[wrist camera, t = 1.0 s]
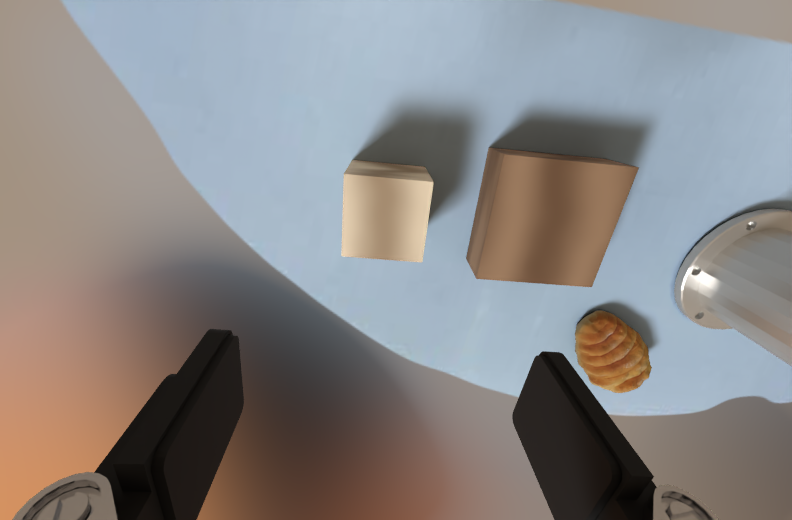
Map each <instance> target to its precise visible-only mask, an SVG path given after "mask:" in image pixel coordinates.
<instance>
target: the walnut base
mask: <svg viewBox="0 0 792 520" xmlns="http://www.w3.org/2000/svg"><path fill="white" fill-rule="evenodd" d="M638 169H639V167H635V166H631V165H627V164H623V163H619V162H616V161H612V160H608V159H601V158H590V157H580V156H570V155H560V154H550V153H540V152H530V151H520V150H509V149H499V148H489V149H488V154H487V159H486V164H485V169H484V173H483V178H482V183H481V188H480V193H479V198H478V203H477V208H476V213H475V218H474V223H473V227H472V232H471V237H470V242H469V247H468V252H467V257H466V259H467V261H468V263H469V265H470V267H471V269H472V271H473V273H474V275H475V277H476V279H488V280H501V281H515V282H528V283H542V284H556V285H569V286H583V287H592V285H593V282H594V280H595V277H596V275H597V272H598V270H599V267H600V265H601V262H602V260H603V257H604V255H605V252H606V249H607V247H608V244H609V242H610V239H611V237H612V234H613V232H614V229H615V227H616V224H617V222H618V219H619V217H620V214H621V212H622V209H623V206H624V204H625V201H626V199H627V196H628V194H629V191H630V189H631V186H632V184H633V181H634V179H635V176H636V174H637V171H638Z"/></svg>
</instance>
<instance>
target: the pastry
mask: <svg viewBox="0 0 792 520" xmlns="http://www.w3.org/2000/svg"><path fill="white" fill-rule="evenodd" d="M575 337H576V338H575V340H576V345H575V352H576V354H577V358H578V363H579V365H580V366H581V367H582V368H583V369H584V371H585V372H586V374H587V375H588V377H589V381H590V382H591V383H592V384H593V385H596V386H600V387H601V388H604V389H607V390H611V391H612V392H615V393H623V392H629V391H631V390H634V389H636V388H638V387H640V386H641V384H642V383H643V381H644V380H646V379H647V378H649V374H650V371H651V368H652V367H651V365H650V362H649V355H648V348H647V346H646V345H645V343H644V342H643V340H642V338H641V336H640V334H639V333H637V332H636V331H635V330H633V329H632V328H631V327H629V326H628V325H626V324H625V323H624V322H623V321H622V320H621V319H619V318H618V317H616V316H615V315H613V314H611V313H609V312H605V311H603V310H598V311H595V312H594V313H592V314H589V315H588V316H586V317H585V318H583V319H582V320H581V321H580V322H579V323H578V324H577V326H576V332H575Z"/></svg>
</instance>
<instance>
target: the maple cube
mask: <svg viewBox="0 0 792 520" xmlns="http://www.w3.org/2000/svg"><path fill="white" fill-rule="evenodd" d="M433 184H434V182H433V180H432V178H431V177H430V175H429V173H428V171H427V170H426V168H425V167H423V166H412V165H402V164H391V163H380V162H370V161H359V160H352V161H351V163H350V165H349V166H348V168H347V170H346V171H345V173H344V188H343V222H342V256H345V257H358V258H372V259H385V260H398V261H411V262H422V261H423V254H424V247H425V240H426V233H427V226H428V219H429V212H430V205H431V198H432V191H433Z"/></svg>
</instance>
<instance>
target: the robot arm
mask: <svg viewBox="0 0 792 520" xmlns="http://www.w3.org/2000/svg"><path fill="white" fill-rule="evenodd" d="M674 294H675V301H676V303H677V306H678V308H679V309H680V311H681V312H682V313H683V314H684V315H685V316H686V317H688V318H689V319H690V320H692V321H693V322H695V323H697V324H699V325H700V326H703V327H707V328H711V329H732V328H733V329H735V330H737V331H738V332H740V333H741V334H743V335H744V336H746V337H747V338H749V339H750V340H752V341H753V342H755V343H756V344H758V345H759V346H761V347H763V348H764V349H766V350H767V351H769V352H770V353H772V354H773V355H775V356H776V357H778V358H779V359H781V360H782V361H784V362H786V363H787V364H789V365H790V366H792V211H789V210H784V209H763V210H757V211H753V212H749V213H745V214H743V215H741V216H738V217H736V218H733V219H731V220H729V221H728V222H726V223H724V224H722V225H721V226H719V227H717V228H716V229H714V230H713V231H712V232H711V233H709V234H708V235H707V236H705V237H704V238H703V239H702V240H701V241H700V242H699V243H698V244H697V245H696V246H695V247H694V248H693V249H692V251H691V252H690V253H689V254H688V256H687V257H686V258H685V260H684V262H683V264H682V266H681V267H680V269H679V272H678V275H677V278H676V280H675V288H674ZM243 404H244V397H243V386H242V374H241V363H240V350H239V339H238V336H233V334H232V332H231V331H230V330H216V329H210V330H208V331H207V333H206V334H205V335H204V337H203V338H202V340H201V341H200V342H199V344H198V345H197V346H196V348H195V349H194V351H193V352H192V354H191V355H190V356H189V358H188V359H187V360H186V362H185V363H184V365H183V366H182V367H181V369H180V370H179V372H178V373H177V374H171V375H169V376H167V377H166V378H165V379H164V380H163V382H162V383H161V384H160V385H159V387H158V388H157V389H156V391H155V392H154V393H153V395H152V396H151V398H150V399H149V400H148V401H147V403H146V404H145V405H144V407H143V408H142V409H141V411H140V412H139V413H138V415H137V416H136V418H135V419H134V420H133V421H132V423H131V424H130V425H129V427H128V428H127V429H126V431H125V432H124V433H123V435H122V436H121V437H120V439H119V440H118V441H117V443H116V444H115V445H114V447H113V448H112V450H111V451H110V452H109V454H108V455H107V456H106V457H105V459H104V460H103V461H102V463H101V464H100V465H99V467H98V468H97V470H96V471H95V472H94V473H92V472H85V473H79V474H75V475H71V476H69V477H66V478H63V479H61V480H58V481H57V482H55V483H53V484H51V485H49V486H48V487H46V488H44V489H43V490H41V491H40V492H39V493H38V494H36V495H35V496H34V497H32V498H31V499H30V500H29V501H28V502H27V503H26V504H25V505H24V506H23V507H22V508H21V509H20V510H19V511H18V512H17V514H16V515H15V517H14V518H13V520H196V519H197V517H198V515H199V512H200V510H201V507H202V505H203V503H204V500H205V498H206V495H207V493H208V491H209V489H210V486H211V484H212V481H213V479H214V477H215V474H216V472H217V470H218V467H219V465H220V463H221V460H222V458H223V455H224V453H225V450H226V448H227V446H228V444H229V441H230V439H231V436H232V434H233V432H234V429H235V427H236V424H237V422H238V420H239V418H240V415H241V413H242V409H243ZM513 423H514V426H515V429H516V431H517V433H518V436H519V438H520V440H521V443H522V445H523V447H524V450H525V452H526V454H527V457H528V459H529V461H530V463H531V466H532V468H533V471H534V473H535V475H536V478H537V480H538V482H539V484H540V487H541V489H542V491H543V494H544V496H545V499H546V500H547V503H548V506H549V508H550V510H551V513H552V515H553V517H554V519H555V520H719V518H718V517H717V516H716V515H715V514H714V513H713V512H712V511H711V509H709V508H708V507H707V506H706V505H705V504H704V503H703V502H701V501H700V500H699V499H698V498H696V497H695V496H693V495H691V494H690V493H689V492H687V491H684V490H683V489H680V488H678V487H675V486H671V485H660V486H659V487H656V486H655V484H654V483H653V482H652V479H653V477H654V476H653V475H652V473H651V472H650V471H649V469H648V468H647V467H646V465H645V464H644V463H643V461H642V460H641V459H640V457H639V456H638V455H637V453H636V452H635V451H634V449H633V448H632V446H631V445H630V444H629V442H628V441H627V440H626V438H625V437H624V436H623V434H622V433H621V432H620V430H619V429H618V428H617V426H616V425H615V424H614V422H613V421H612V420H611V418H610V417H609V415H608V414H607V413H606V411H605V410H604V409H603V407H602V406H601V405H600V403H599V402H598V401H597V399H596V398H595V397H594V395H593V394H592V392H591V391H590V390H589V388H588V387H587V386H586V384H585V383H584V382H583V380H582V379H581V378H580V376H579V375H578V374H577V372H576V371H575V370H574V368H573V367H572V365H571V364H570V363H569V361H568V360H567V359H566V357H565V356H564V355H563V354H562V353H559V352H541V353H540V355H539V356H536V357H535V359H534V361H533V363H532V366H531V368H530V371H529V374H528V376H527V379H526V381H525V384H524V386H523V389H522V391H521V394H520V396H519V399H518V401H517V404H516V406H515V409H514V412H513Z"/></svg>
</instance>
